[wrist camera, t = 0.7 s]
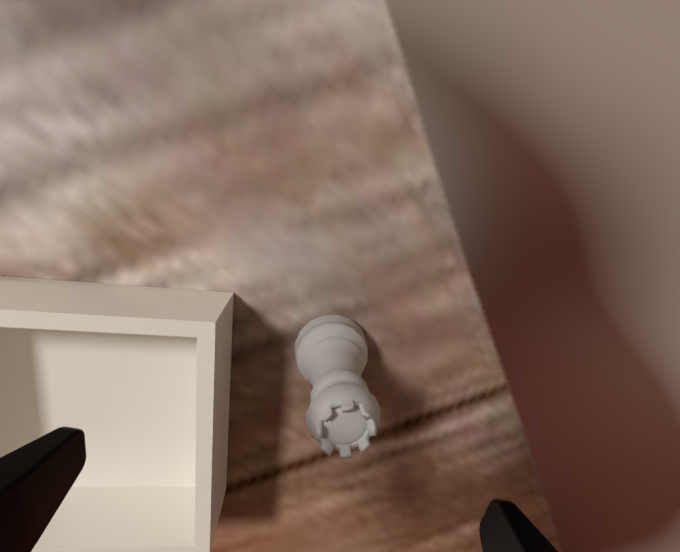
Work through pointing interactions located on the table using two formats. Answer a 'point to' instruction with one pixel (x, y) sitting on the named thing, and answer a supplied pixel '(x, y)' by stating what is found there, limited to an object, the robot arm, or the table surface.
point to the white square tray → (122, 406)
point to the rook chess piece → (337, 384)
